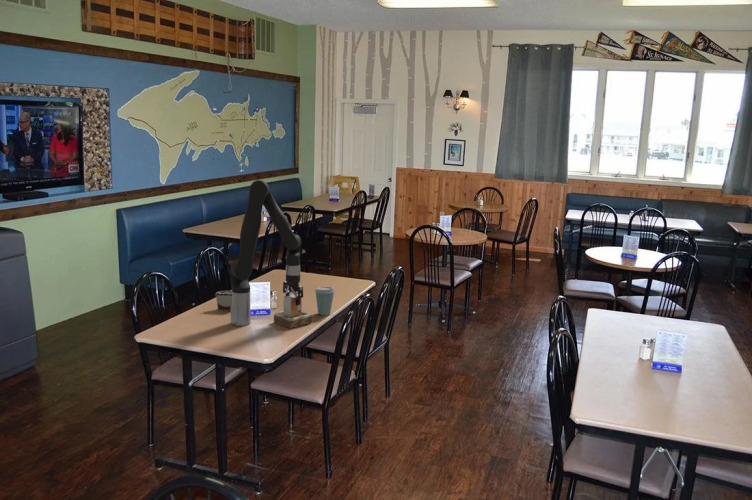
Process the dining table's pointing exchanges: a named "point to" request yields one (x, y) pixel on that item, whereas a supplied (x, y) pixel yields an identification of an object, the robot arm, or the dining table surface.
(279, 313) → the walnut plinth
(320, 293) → the disposable coffee cup
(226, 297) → the food container
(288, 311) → the small box
